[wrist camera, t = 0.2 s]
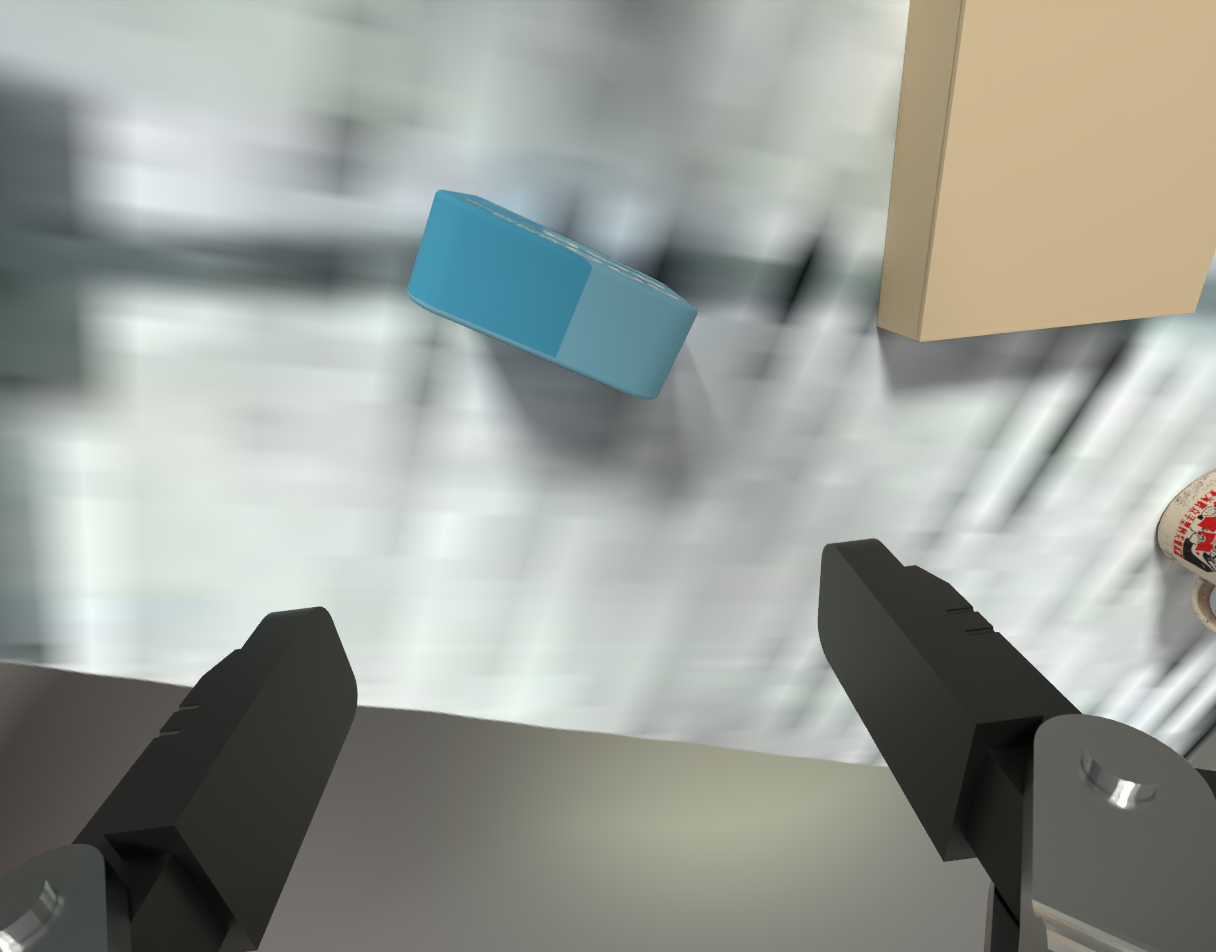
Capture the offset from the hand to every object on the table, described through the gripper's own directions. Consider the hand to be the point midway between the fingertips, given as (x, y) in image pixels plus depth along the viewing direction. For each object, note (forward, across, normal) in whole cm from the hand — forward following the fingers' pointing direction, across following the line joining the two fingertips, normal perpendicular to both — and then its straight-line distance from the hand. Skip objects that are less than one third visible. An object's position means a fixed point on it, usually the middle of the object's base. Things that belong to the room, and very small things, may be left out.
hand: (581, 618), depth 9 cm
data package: (+29, 0, -2) cm, 29 cm away
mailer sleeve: (+29, -28, -6) cm, 40 cm away
